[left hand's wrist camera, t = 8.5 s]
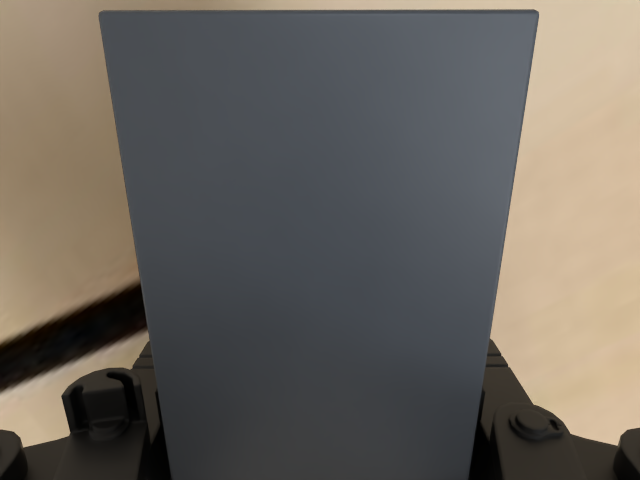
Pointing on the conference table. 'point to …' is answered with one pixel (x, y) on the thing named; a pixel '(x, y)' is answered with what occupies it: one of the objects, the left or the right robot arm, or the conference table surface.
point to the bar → (319, 229)
